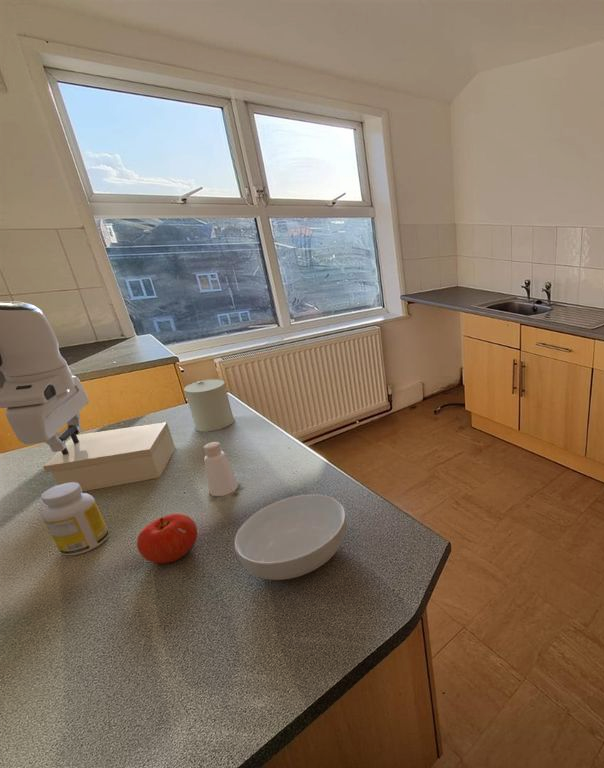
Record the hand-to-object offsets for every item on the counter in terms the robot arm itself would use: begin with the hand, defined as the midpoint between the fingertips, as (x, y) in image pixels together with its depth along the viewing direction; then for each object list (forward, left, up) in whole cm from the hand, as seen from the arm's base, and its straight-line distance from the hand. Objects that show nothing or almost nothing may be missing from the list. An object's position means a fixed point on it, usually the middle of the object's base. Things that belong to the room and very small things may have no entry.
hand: (68, 441), depth 92 cm
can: (+22, +18, -9) cm, 30 cm away
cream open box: (+7, 0, -9) cm, 11 cm away
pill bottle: (+9, -26, -9) cm, 29 cm away
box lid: (+7, 0, -3) cm, 7 cm away
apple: (+24, -35, -9) cm, 43 cm away
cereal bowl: (+44, -44, -9) cm, 63 cm away
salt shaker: (+29, -17, -9) cm, 35 cm away
